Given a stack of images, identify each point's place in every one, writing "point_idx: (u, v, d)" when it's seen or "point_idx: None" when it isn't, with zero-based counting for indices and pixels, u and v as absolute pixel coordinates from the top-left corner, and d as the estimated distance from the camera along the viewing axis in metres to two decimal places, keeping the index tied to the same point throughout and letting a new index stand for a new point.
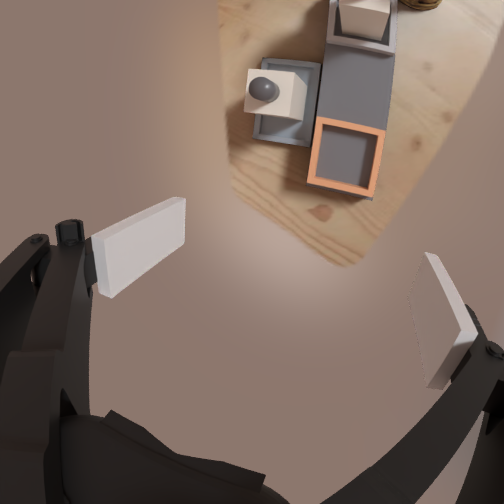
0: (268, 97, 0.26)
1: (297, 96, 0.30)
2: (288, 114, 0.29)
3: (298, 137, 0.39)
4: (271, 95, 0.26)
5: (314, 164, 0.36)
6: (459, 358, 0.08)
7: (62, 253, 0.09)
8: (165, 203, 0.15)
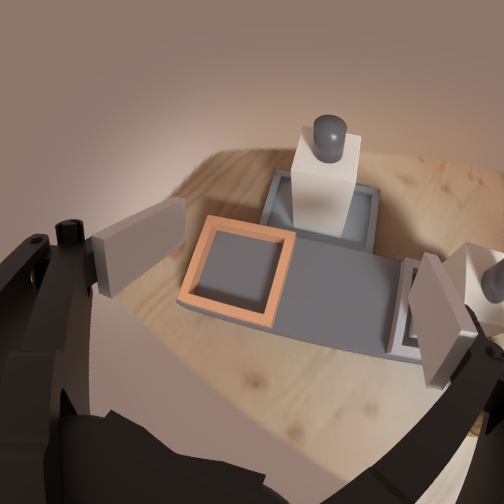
0: (316, 134, 0.20)
1: (322, 200, 0.25)
2: (294, 170, 0.22)
3: (271, 221, 0.32)
4: (319, 138, 0.20)
5: (230, 224, 0.28)
6: (459, 358, 0.08)
7: (62, 253, 0.09)
8: (165, 203, 0.15)
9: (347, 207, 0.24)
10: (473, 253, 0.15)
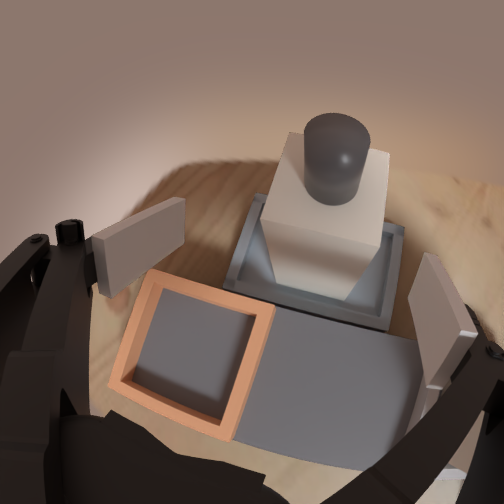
0: (309, 152, 0.10)
1: (319, 262, 0.15)
2: (267, 218, 0.12)
3: (245, 271, 0.22)
4: (315, 161, 0.10)
5: (177, 286, 0.18)
6: (459, 358, 0.08)
7: (62, 253, 0.09)
8: (165, 203, 0.15)
9: (359, 274, 0.15)
10: None
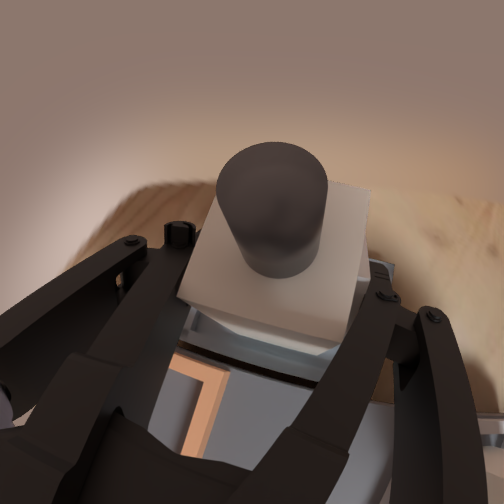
0: (224, 214, 0.06)
1: (270, 335, 0.11)
2: (185, 296, 0.09)
3: (202, 318, 0.19)
4: (233, 230, 0.07)
5: None
6: (357, 304, 0.10)
7: (166, 255, 0.10)
8: None
9: (324, 349, 0.11)
10: None
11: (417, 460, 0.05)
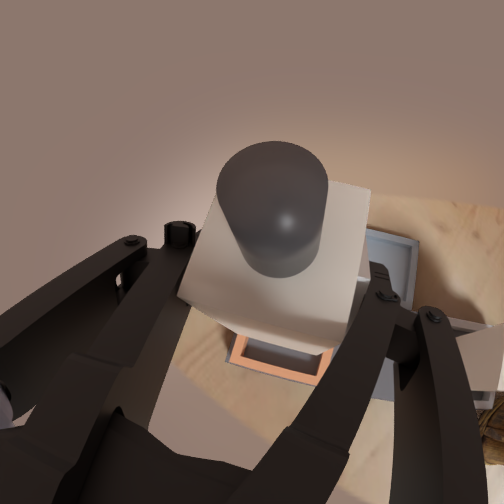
0: (224, 214, 0.06)
1: (270, 334, 0.11)
2: (185, 296, 0.09)
3: None
4: (234, 229, 0.07)
5: None
6: (357, 304, 0.10)
7: (166, 255, 0.10)
8: None
9: (324, 349, 0.11)
10: None
11: (417, 460, 0.05)
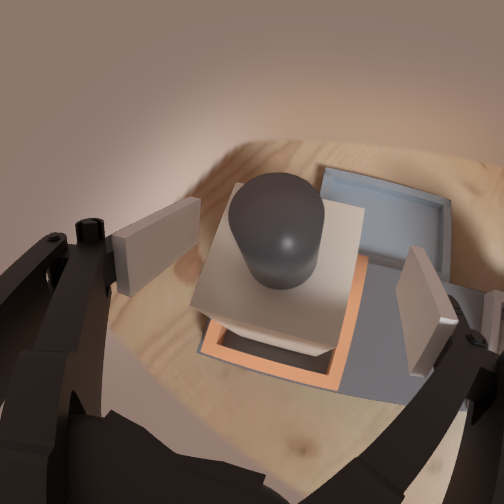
0: (235, 238, 0.08)
1: (273, 338, 0.12)
2: (198, 305, 0.10)
3: None
4: (243, 251, 0.08)
5: None
6: (441, 346, 0.08)
7: (81, 252, 0.10)
8: (182, 203, 0.15)
9: (322, 351, 0.12)
10: None
11: (470, 492, 0.03)
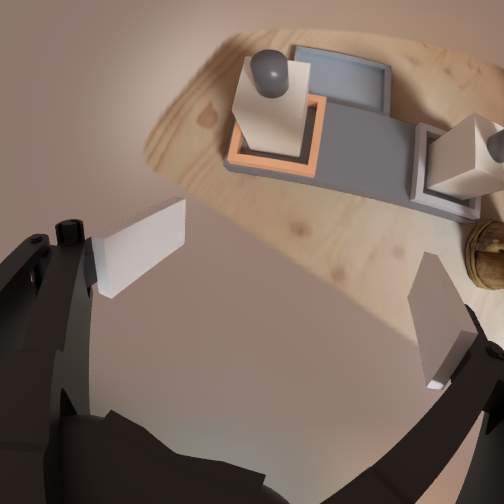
0: (253, 73, 0.17)
1: (272, 131, 0.23)
2: (235, 109, 0.20)
3: None
4: (257, 78, 0.17)
5: None
6: (459, 358, 0.08)
7: (62, 253, 0.09)
8: (165, 203, 0.15)
9: (298, 136, 0.23)
10: (479, 122, 0.17)
11: (480, 501, 0.03)
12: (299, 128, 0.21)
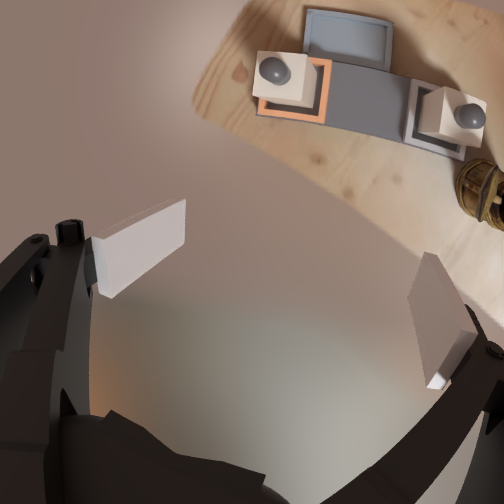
0: (262, 76, 0.24)
1: (285, 101, 0.30)
2: (255, 94, 0.27)
3: (311, 47, 0.33)
4: None
5: None
6: (459, 358, 0.08)
7: (62, 253, 0.09)
8: (165, 203, 0.15)
9: (305, 103, 0.29)
10: (449, 94, 0.21)
11: (480, 501, 0.03)
12: (302, 102, 0.28)
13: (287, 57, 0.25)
